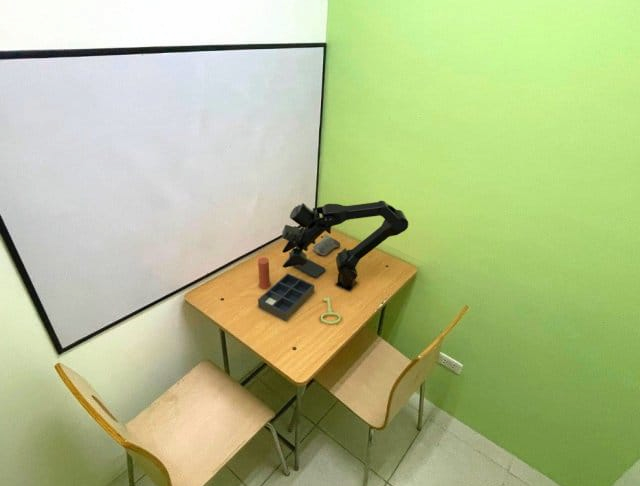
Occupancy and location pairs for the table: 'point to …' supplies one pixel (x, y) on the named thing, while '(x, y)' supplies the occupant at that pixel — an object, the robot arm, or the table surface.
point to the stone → (326, 245)
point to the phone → (311, 268)
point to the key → (329, 313)
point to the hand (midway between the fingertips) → (283, 259)
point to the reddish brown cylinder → (264, 273)
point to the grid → (286, 296)
